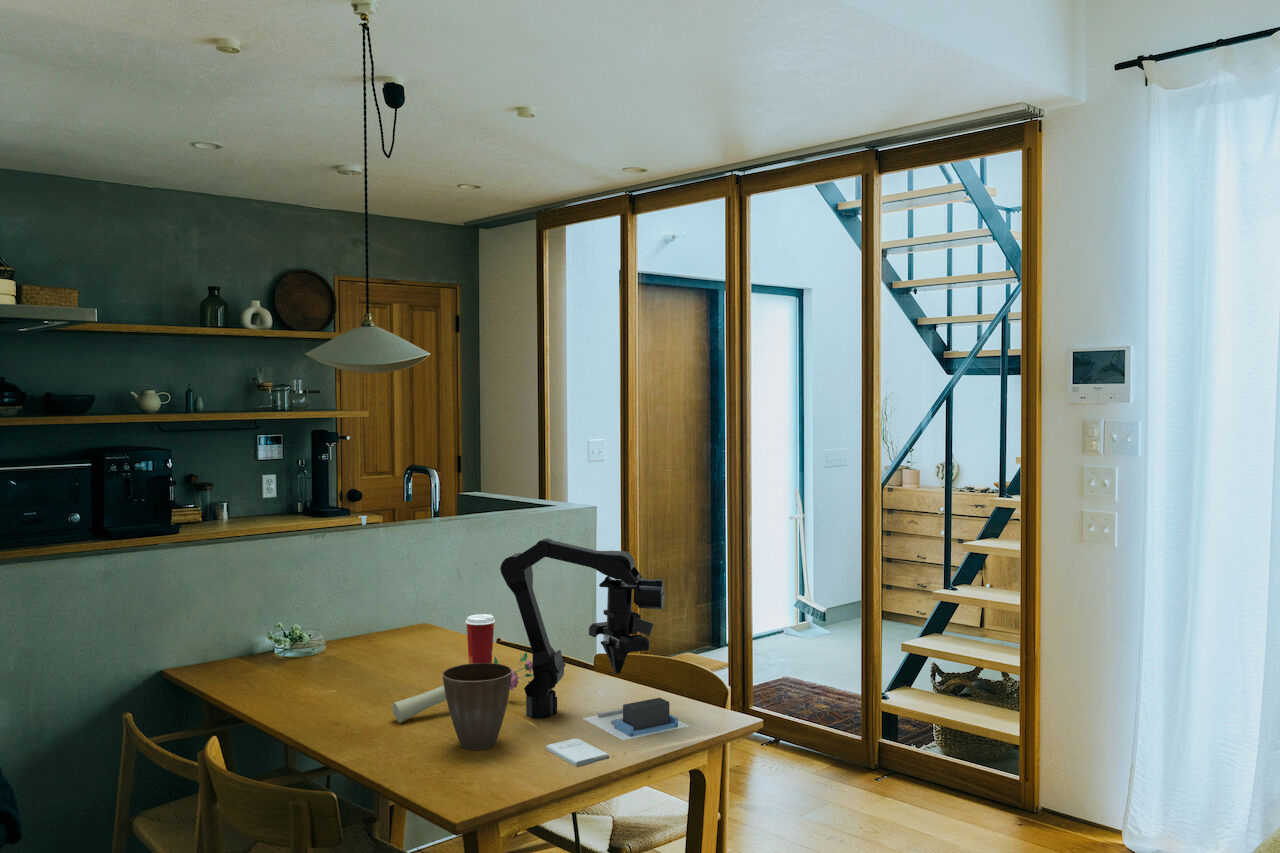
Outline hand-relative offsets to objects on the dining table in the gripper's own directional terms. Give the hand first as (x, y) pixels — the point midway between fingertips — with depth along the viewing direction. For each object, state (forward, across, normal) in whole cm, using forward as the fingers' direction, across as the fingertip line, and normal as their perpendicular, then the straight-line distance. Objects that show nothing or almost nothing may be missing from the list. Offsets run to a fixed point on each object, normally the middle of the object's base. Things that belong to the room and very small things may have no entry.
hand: (617, 673), depth 228 cm
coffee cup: (+13, +59, +10) cm, 61 cm away
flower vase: (+13, +27, +27) cm, 40 cm away
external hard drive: (+12, -14, +17) cm, 25 cm away
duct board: (+11, -4, -3) cm, 12 cm away
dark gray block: (+10, -9, -3) cm, 14 cm away
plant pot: (+12, +2, +33) cm, 36 cm away
